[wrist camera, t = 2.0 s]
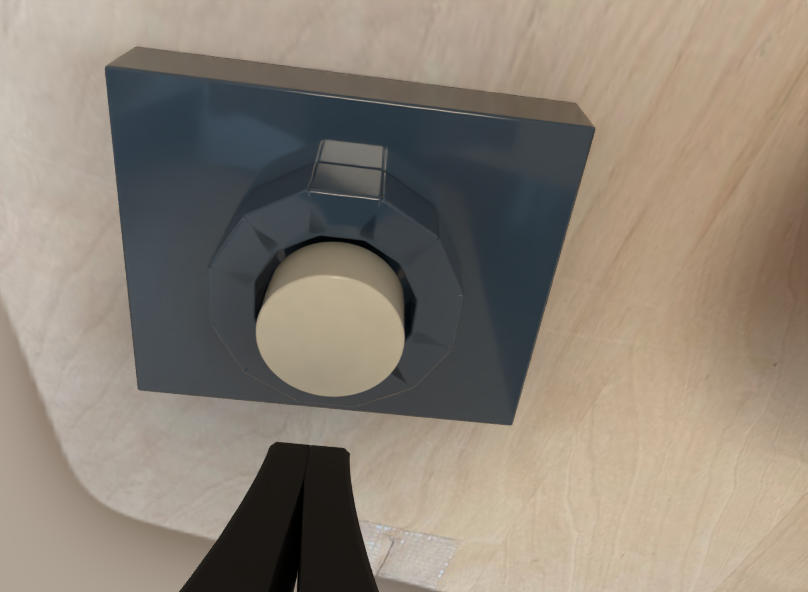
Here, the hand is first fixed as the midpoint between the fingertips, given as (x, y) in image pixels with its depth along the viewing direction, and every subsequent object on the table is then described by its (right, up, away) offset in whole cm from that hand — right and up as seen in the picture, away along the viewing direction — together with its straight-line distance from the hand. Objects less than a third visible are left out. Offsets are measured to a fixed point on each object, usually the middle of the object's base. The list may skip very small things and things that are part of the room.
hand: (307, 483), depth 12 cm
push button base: (0, +5, +8) cm, 10 cm away
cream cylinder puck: (0, +3, +5) cm, 6 cm away
